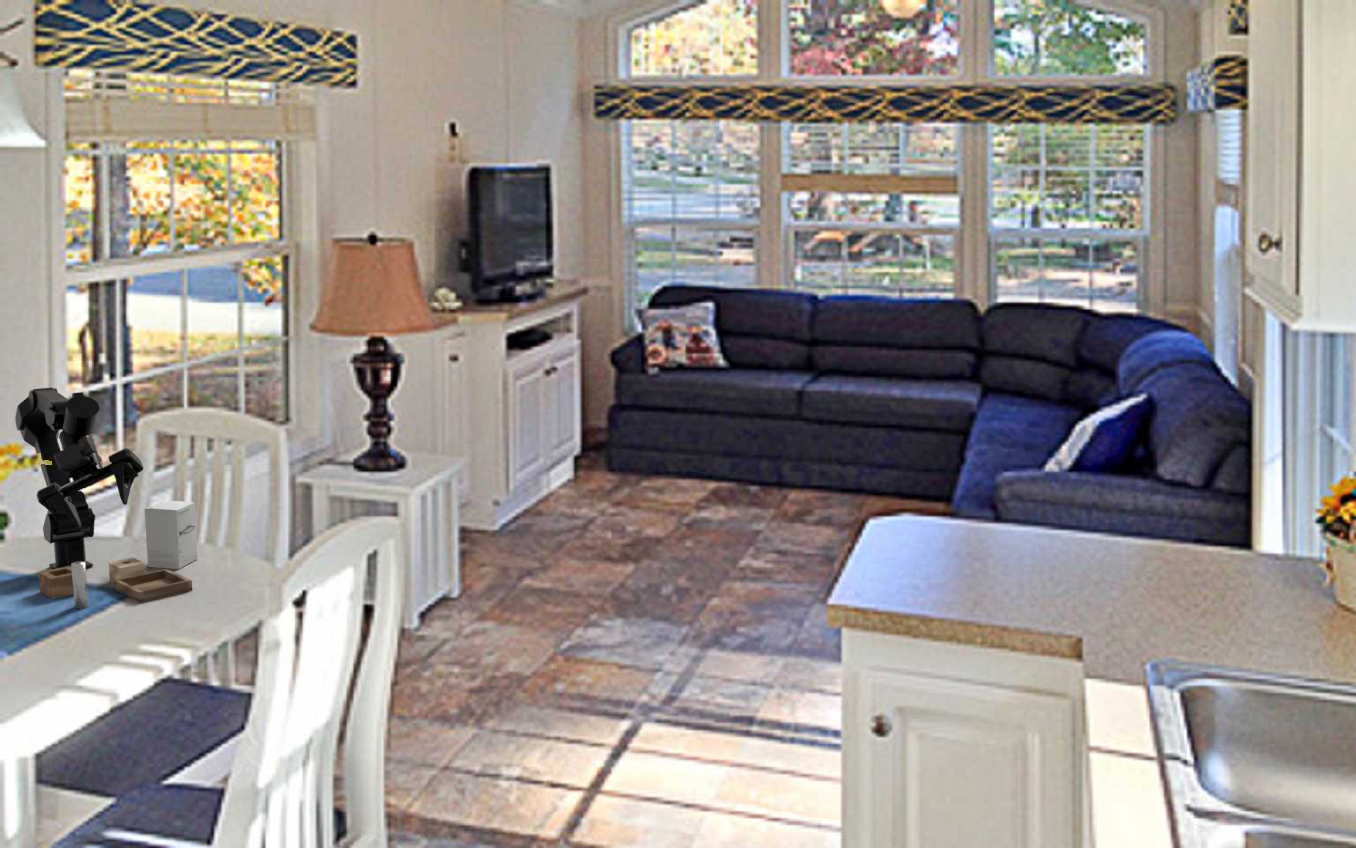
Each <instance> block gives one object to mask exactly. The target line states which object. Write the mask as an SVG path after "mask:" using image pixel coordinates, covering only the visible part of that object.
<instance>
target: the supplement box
mask: <svg viewBox="0 0 1356 848" xmlns="http://www.w3.org/2000/svg"><path fill="white" fill-rule="evenodd" d="M196 521H197V520H196V507H195V501H181V500H178V501H177V500H163V501H159V502H158V503H155V504H153V505H150V506H148V507H146V508H144V522H145V536H146V538H145V539H146V553H147V554H146V556H147V557H146V558H147V567H148V568H157V569H168V570H180V569H182V568H183V567H185V566H187V565H188V564H190V563H192V562H195V561H197V560H198V546H197V545H198V543H197V541H198V540H197V523H196Z"/></svg>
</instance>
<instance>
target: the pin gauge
mask: <svg viewBox="0 0 1356 848" xmlns="http://www.w3.org/2000/svg"><path fill="white" fill-rule="evenodd" d="M71 567H72V580H73V593H74V595H73V604H74V606H73V607H74V608H75V609H77V608H82V609H86V608H88V607H89V595H88V593H89V592H88V581H87V580H88V579H87V570H86V569H87V568H86V565H85V562H84V561H77V562H73V563H71Z"/></svg>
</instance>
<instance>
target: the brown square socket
mask: <svg viewBox="0 0 1356 848" xmlns="http://www.w3.org/2000/svg"><path fill="white" fill-rule="evenodd" d="M38 581H39V592H40V593H42V594H43V595H45V596H46V597H48V598H50V597H51V598H50V599H52V598H53V599H52V600H55V599H54V598H56V599H60V598H59V597H61V598H65V597H68V596H74V593H73V580H72V567H71V566H67V567H62V568H57V569H53V568H52V569H48V570H43V571H39V572H38Z"/></svg>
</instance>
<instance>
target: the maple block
mask: <svg viewBox="0 0 1356 848" xmlns="http://www.w3.org/2000/svg"><path fill="white" fill-rule="evenodd" d="M145 573H146V565H145V562H144V561H141V559H137V558H134V557H129V558H124V559H120V560H119V559H118V560H114V561H109V562H108V575H109V582H111V583H112V584H114V580H117V579H122V578H126V577H131V576H135V575H140V574H145Z"/></svg>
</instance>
